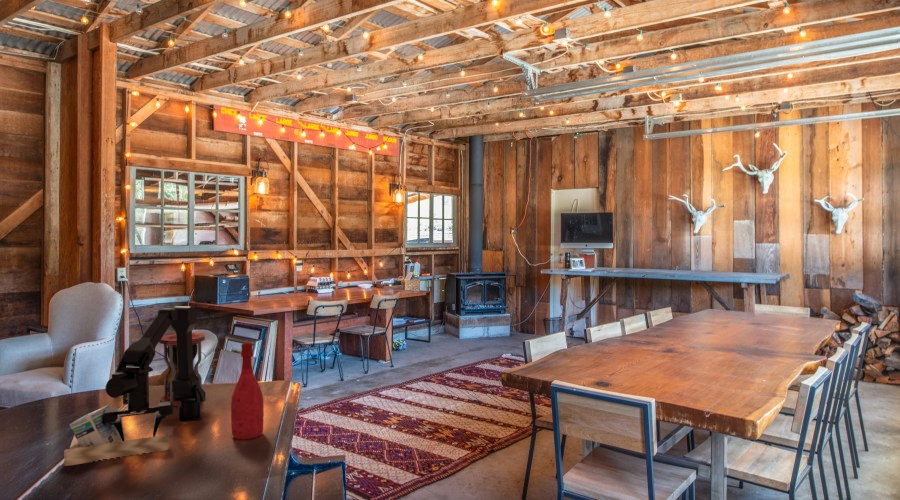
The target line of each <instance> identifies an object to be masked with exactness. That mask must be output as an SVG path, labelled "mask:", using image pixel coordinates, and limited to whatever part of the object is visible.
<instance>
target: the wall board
mask: <svg viewBox="0 0 900 500" xmlns="http://www.w3.org/2000/svg"><path fill="white" fill-rule="evenodd" d="M73 435H74V434H73ZM164 451H169V435H168V434H164V435H157V436H156V435H155V437H153V436H149V437H142V438H136V439H129V440H124V441H122V440H121V441H115V442H113V443H107V444H100V445H93V446H87V447H80V445H79V443H78V441H77V439H76V437H75V435H74V436H73V438H72V441H71V443H70V446H69V448H67V449H64V451H63V453H64V454H63V456H64V458H63V459H64V460H63V462H64V464H63V465H64V467H66V466H67V467H69V466H75V465H80V464H88V463H93V461H95V462H99V461H98V460H101V461H104V460H103V459H107V460H111V459H110V458H114V459H117V458H116V457H120V458H123V457H122V456H126V457H130V456H129V455H133V456H136V455H135V454H139V455H143V454H142V453H146V454H150V452H152V453H157V452H164Z"/></svg>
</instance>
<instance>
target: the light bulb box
mask: <svg viewBox="0 0 900 500" xmlns="http://www.w3.org/2000/svg"><path fill="white" fill-rule="evenodd" d="M105 409H111V407H110V405H108V404H107V405H105V406H102V407H101V408H99V409H96V410H94V411H92V412H89V413H87V414H85V415H83V416H82V417H79V418H78V419H76V420H74V421H72V422H71V423H69V427H70V428H71V431H72V432H73V435H75V437H76V439H77V441H78V443H79V445H80V447H87V446H93V445H100V444H107V443H114V442H117V441H118V440H119V439H121V437H120V435H119V432H118V431H117V429H116V427H115V426H114V425H110V422H109V423H103V420H102V417H103V411H104V410H105Z"/></svg>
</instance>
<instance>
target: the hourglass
mask: <svg viewBox="0 0 900 500" xmlns="http://www.w3.org/2000/svg"><path fill="white" fill-rule="evenodd" d="M205 340H206V335H205V334H203V333H196V332H195V333H194V332H192V346H193V361H194V360H195V359H196V357H197V362H196V363H195V364H194V366H193V368H194V373H195V374H196V375H197V377H198V378H199V383H200V387H201V388H202V389H203V384H202V383H203V382H202V381H203V380H202V375H201V373H199V365H200V364H201V362H202V342H203V341H205ZM158 344H161V345H163V359H164V363H165V364H166V366H167V372H166V373H165V374H164V377H163V378H164V379H163V383H164V385H163V387H164V388H163V390H164V394H163V395H162V396H161V397H160V399H159V403H161V402H171V403H172V405H173V407H178V406H179V405H180V402H178V401H177V402H175V398H174V394H173V392H172V381H173V380H175V378H176V377H177V375H178V370H177V369H176V367H177V368H178V362H177V341H176V333H174V334H169V335H168V334H167V335H163V337H162V338H161V339H160V341H159V342H158ZM170 374H171V377H170V379H168V377H169V376H170ZM205 397H206V395H205Z"/></svg>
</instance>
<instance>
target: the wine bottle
mask: <svg viewBox="0 0 900 500" xmlns="http://www.w3.org/2000/svg"><path fill="white" fill-rule="evenodd" d="M253 355H254V353H253V343H252V342H249V341H248V342H247V341H245V342H243V343H241V354H240V357H241V358H242V364H241V365H242V366H241V372H240V375H239V378H238V380H237V382H236V384H235V386H234V390H233V392H232V394H231V395H232V396H231V399H230V401H231V402H230V420H231V425H230V427H231V435H232V437H233V438H234V439H236V440H251V439H254V438H255V439H256V438H258V437H259V436H261V435H262V434H263V431H264V413H265V412H264V396H263V391H262V390H261V386H260V384H259V382H258V380H257V378H256V376H255V374H254V369H253V366H252V363H253V362H252V357H253Z"/></svg>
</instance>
